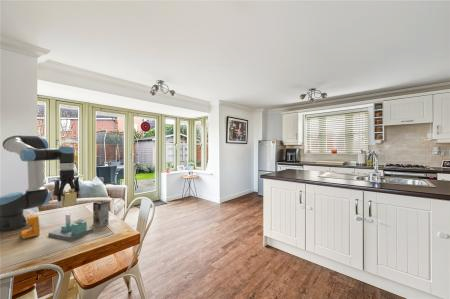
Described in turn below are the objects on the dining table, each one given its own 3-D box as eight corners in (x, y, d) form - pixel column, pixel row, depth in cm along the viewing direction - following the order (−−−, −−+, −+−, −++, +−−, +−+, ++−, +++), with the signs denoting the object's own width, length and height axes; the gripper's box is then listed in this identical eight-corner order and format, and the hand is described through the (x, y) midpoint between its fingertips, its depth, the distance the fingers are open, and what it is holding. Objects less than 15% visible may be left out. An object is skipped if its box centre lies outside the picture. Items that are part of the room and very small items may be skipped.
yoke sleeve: (65, 206, 124) (65, 191, 124) (57, 205, 126) (57, 190, 126) (76, 203, 131) (76, 188, 131) (69, 202, 133) (69, 188, 133)
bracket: (21, 235, 126) (21, 216, 126) (36, 231, 132) (36, 213, 131) (23, 240, 119) (23, 220, 119) (39, 236, 125) (39, 217, 125)
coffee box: (92, 224, 143) (92, 202, 143) (101, 221, 149) (101, 200, 149) (100, 226, 139) (100, 204, 139) (109, 223, 145) (108, 201, 145)
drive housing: (48, 236, 125) (48, 217, 124) (71, 227, 138) (71, 210, 138) (71, 240, 119) (71, 221, 118) (93, 231, 132) (93, 213, 132)
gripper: (53, 171, 117) (53, 209, 118) (86, 168, 136) (86, 200, 137) (45, 171, 120) (45, 208, 120) (78, 167, 139) (78, 199, 139)
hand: (67, 204), depth 128 cm, fingers closed on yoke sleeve, 7 cm apart
